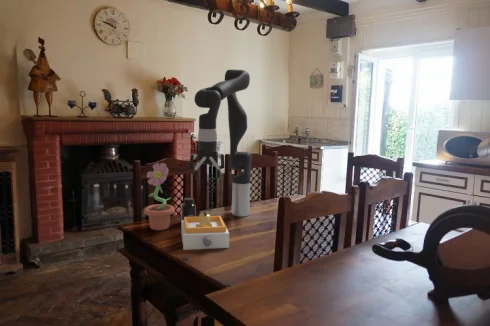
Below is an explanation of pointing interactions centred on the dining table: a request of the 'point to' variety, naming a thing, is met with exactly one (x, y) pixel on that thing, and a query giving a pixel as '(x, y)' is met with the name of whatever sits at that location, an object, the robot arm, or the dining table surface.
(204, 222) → the oil can
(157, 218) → the decorative flower
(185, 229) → the white box with knob
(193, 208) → the supplement bottle
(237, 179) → the robot arm
